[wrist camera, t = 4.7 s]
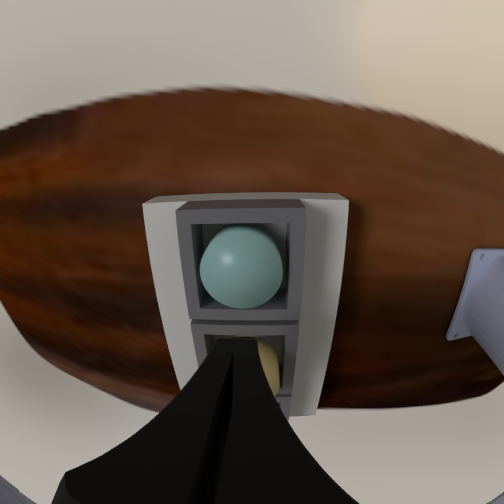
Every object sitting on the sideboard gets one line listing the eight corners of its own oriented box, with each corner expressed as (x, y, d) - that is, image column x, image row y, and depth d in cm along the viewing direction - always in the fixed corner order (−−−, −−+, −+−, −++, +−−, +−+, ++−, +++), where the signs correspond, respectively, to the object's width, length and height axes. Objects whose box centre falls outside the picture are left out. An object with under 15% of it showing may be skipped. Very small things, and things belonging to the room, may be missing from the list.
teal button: (280, 220, 12) (283, 233, 10) (279, 287, 13) (281, 308, 12) (205, 221, 12) (196, 234, 11) (211, 287, 14) (203, 307, 12)
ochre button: (279, 336, 13) (281, 362, 11) (276, 380, 14) (278, 406, 13) (211, 335, 13) (204, 360, 11) (217, 379, 14) (213, 404, 13)
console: (338, 193, 14) (363, 209, 10) (312, 396, 20) (318, 434, 16) (156, 196, 14) (124, 213, 11) (192, 394, 20) (183, 432, 17)
